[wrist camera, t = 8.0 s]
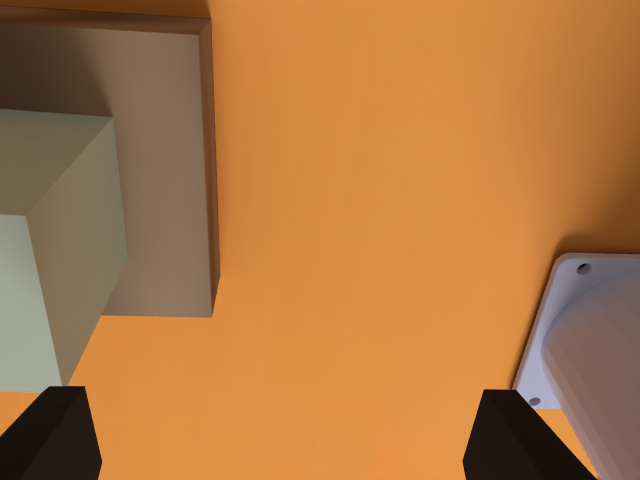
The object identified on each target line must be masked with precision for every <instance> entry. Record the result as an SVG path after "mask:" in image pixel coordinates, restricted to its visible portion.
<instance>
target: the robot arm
mask: <svg viewBox="0 0 640 480" xmlns="http://www.w3.org/2000/svg"><path fill="white" fill-rule="evenodd" d="M585 263H586V264H585ZM582 264H585V266H584V267H582V268H581V269H578V267H579V266H580V265H582ZM534 409H562V410H563V412H564V414H565V416H566V418H567V419H568V421H569V423H570V425H571V427H572V428H573V430H574V432H575V434H576V436H577V438H578V439H579V441H580V443H581V445H582V447H583V449H584V450H585V452H586V454H587V456H588V458H589V459H590V461H591V463H592V465H593V467H594V469H595V470H596V472H597V474H598V476H599V478H600V479H601V480H640V254H605V253H565V254H563V255H561V256H560V257H559V258H557V259H556V261H555V263H554V265H553V268H552V271H551V274H550V277H549V280H548V283H547V286H546V289H545V292H544V295H543V298H542V301H541V304H540V307H539V310H538V313H537V316H536V319H535V322H534V325H533V328H532V331H531V334H530V337H529V340H528V343H527V346H526V348H525V351H524V354H523V357H522V360H521V363H520V366H519V369H518V372H517V375H516V378H515V381H514V384H513V387H512V390H493V389H484V391H483V394H482V398H481V401H480V404H479V408H478V411H477V414H476V418H475V421H474V424H473V428H472V431H471V434H470V438H469V441H468V444H467V448H466V451H465V454H464V458H463V466H464V471H465V476H466V480H597V479H596V478H595V477H594V476H593V475H592V474H591V473H590V472H589V470H588V469H587V468H586V467H585V466H584V465H583V464H582V463H581V462H580V461H579V460H578V458H577V457H576V456H575V455H574V454H573V453H572V452H571V451H570V450H569V448H568V447H567V446H566V445H565V444H564V443H563V442H562V441H561V440H560V438H559V437H558V436H557V435H556V434H555V433H554V432H553V431H552V429H551V428H550V427H549V426H548V425H547V424H546V423H545V422H544V420H543V419H542V418H541V417H540V416H539V415H538V414H537V413H536V411H535V410H534ZM101 465H102V459H101V454H100V450H99V446H98V441H97V437H96V433H95V429H94V424H93V420H92V416H91V411H90V407H89V403H88V399H87V394H86V390H85V386H49V387H48V388H46V389H45V390H44V391H43V392H42V393H41V394H40V395H39V396H38V397H37V398H36V399H35V400H34V401H33V402H32V404H31V405H30V406H29V407H28V408H27V409H26V410H25V411H24V412H23V413H22V414H21V415H20V416H19V417H18V418H17V419H16V420H15V421H14V423H13V424H12V425H11V426H10V427H9V428H8V429H7V430H6V431H5V432H4V433H3V434H2V435H1V436H0V480H98V477H99V473H100V469H101Z"/></svg>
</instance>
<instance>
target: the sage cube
mask: <svg viewBox="0 0 640 480" xmlns="http://www.w3.org/2000/svg"><path fill="white" fill-rule="evenodd" d="M127 260H128V251H127V242H126V233H125V223H124V214H123V205H122V196H121V186H120V177H119V168H118V158H117V149H116V140H115V131H114V121H113V117H104V116H90V115H77V114H63V113H50V112H36V111H23V110H9V109H0V391H2V392H35V393H42V392H43V391H44V390H45V389H46V388H48V387H49V386H67V385H68V383H69V381H70V379H71V377H72V375H73V373H74V371H75V369H76V367H77V364H78V362H79V360H80V358H81V356H82V354H83V352H84V350H85V348H86V346H87V343H88V341H89V339H90V337H91V335H92V333H93V331H94V329H95V327H96V325H97V323H98V320H99V318H100V316H101V314H102V312H103V310H104V308H105V306H106V304H107V302H108V300H109V297H110V295H111V293H112V291H113V289H114V287H115V285H116V283H117V281H118V279H119V277H120V274H121V272H122V270H123V268H124V266H125V264H126V262H127Z"/></svg>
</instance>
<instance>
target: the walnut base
mask: <svg viewBox="0 0 640 480" xmlns="http://www.w3.org/2000/svg"><path fill="white" fill-rule="evenodd" d="M0 109H9V110H23V111H36V112H50V113H63V114H77V115H90V116H104V117H113V121H114V131H115V140H116V149H117V158H118V168H119V177H120V186H121V196H122V205H123V214H124V223H125V233H126V242H127V251H128V260H127V262H126V264H125V266H124V268H123V270H122V272H121V274H120V277H119V279H118V281H117V283H116V285H115V287H114V289H113V291H112V293H111V295H110V297H109V300H108V302H107V304H106V306H105V308H104V310H103V312H102V314H101V315H116V316H162V317H208V318H212V314H213V309H214V304H215V299H216V294H217V289H218V284H219V279H220V254H219V226H218V197H217V169H216V141H215V113H214V85H213V56H212V28H211V19H209V18H193V17H177V16H161V15H145V14H129V13H113V12H98V11H82V10H66V9H50V8H34V7H18V6H2V5H0Z"/></svg>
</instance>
